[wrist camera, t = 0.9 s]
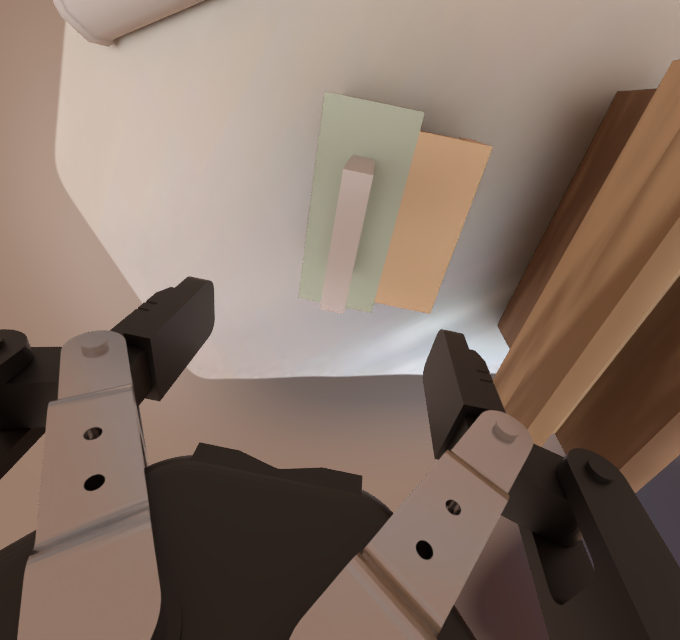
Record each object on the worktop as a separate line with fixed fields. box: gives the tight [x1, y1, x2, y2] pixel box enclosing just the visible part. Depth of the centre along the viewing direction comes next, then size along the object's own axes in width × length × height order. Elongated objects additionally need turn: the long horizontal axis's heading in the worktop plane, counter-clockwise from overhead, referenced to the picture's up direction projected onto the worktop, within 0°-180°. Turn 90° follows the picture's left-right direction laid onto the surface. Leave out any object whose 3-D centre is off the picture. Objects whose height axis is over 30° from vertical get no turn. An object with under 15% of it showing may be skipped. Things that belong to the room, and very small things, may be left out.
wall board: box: [493, 60, 680, 493], centre depth 24 cm, size 12×22×20 cm, turn 170°
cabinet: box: [298, 91, 493, 314], centre depth 25 cm, size 10×14×16 cm
